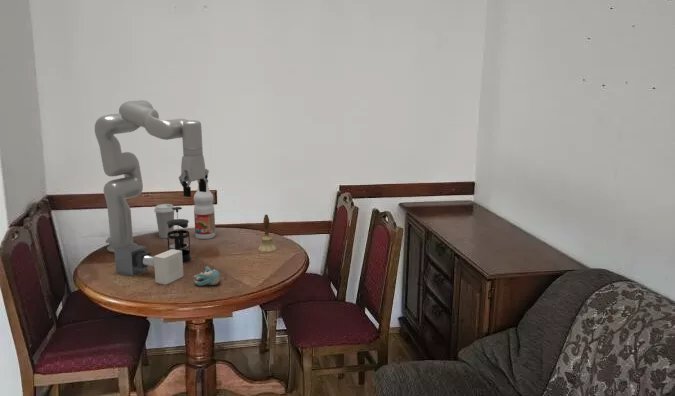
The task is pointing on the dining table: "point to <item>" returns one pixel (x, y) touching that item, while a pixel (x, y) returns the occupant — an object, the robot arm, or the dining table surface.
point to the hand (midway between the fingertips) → (195, 194)
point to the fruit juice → (204, 214)
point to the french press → (179, 237)
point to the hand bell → (267, 238)
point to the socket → (168, 266)
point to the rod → (144, 259)
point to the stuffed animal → (207, 277)
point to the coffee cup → (164, 219)
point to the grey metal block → (128, 259)
